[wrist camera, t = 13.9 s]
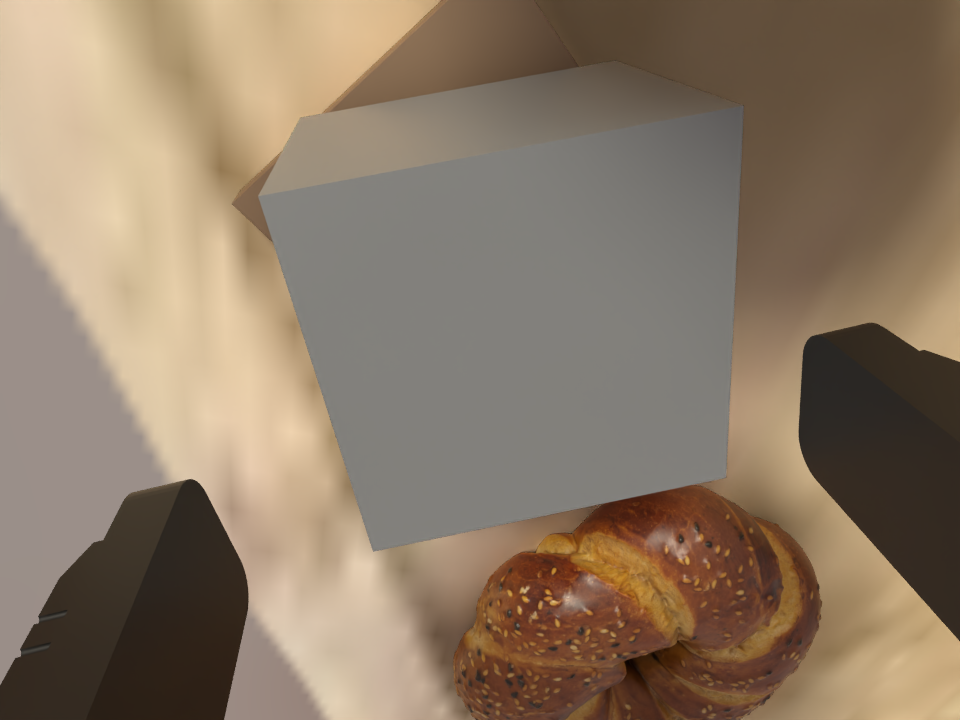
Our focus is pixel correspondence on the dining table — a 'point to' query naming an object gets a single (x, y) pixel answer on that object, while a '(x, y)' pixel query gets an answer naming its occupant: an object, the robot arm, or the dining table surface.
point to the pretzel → (642, 617)
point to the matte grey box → (516, 292)
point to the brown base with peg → (445, 64)
